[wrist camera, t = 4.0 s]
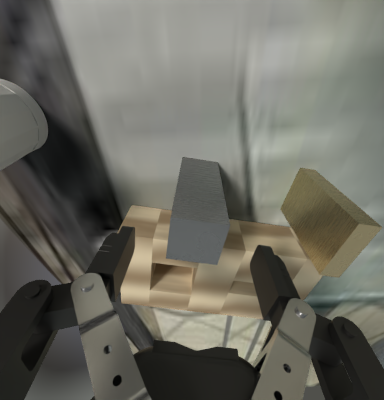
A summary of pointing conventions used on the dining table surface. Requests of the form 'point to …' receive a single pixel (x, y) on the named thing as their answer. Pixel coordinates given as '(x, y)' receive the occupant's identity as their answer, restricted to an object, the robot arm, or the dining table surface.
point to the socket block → (208, 267)
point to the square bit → (198, 214)
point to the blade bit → (327, 223)
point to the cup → (19, 124)
